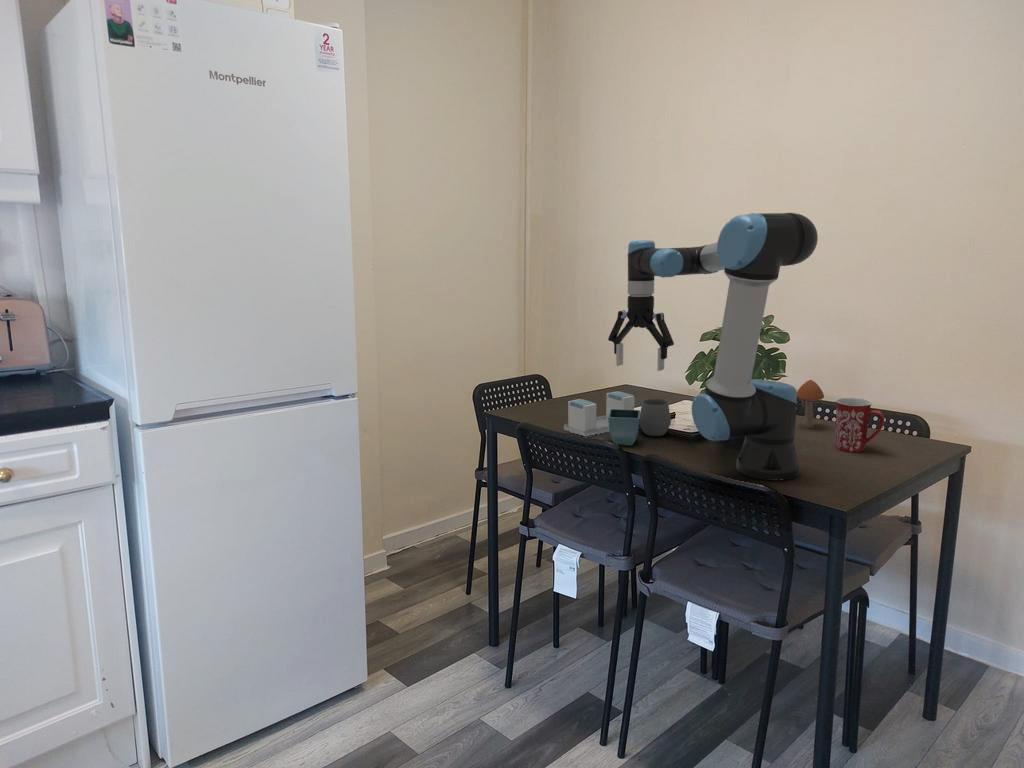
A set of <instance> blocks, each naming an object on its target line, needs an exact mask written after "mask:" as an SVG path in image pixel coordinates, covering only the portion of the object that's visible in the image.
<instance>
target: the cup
mask: <svg viewBox="0 0 1024 768" xmlns="http://www.w3.org/2000/svg"><path fill="white" fill-rule="evenodd" d="M671 424H672V420H671V413H670V404H669V401H668V400H666V399H662V398H646V399H643V400H642V403H641V407H640V419H639V426H640V428H641V431H642V432H643V433H644V434H645V435H647V436H649V437H660V436H661V437H662V436H665V434H667V432H668V430H669V428H670V426H671Z"/></svg>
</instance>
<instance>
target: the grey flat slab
mask: <svg viewBox="0 0 1024 768" xmlns="http://www.w3.org/2000/svg"><path fill="white" fill-rule="evenodd" d="M563 431H566V432H568V431H569V432H568V433H571V434H573V433H575V434H574V435H576V434H579V435H583V436H589V435H593V436H596V435H595V434H597V435H601V434H600V433H602V434H606V433H610V431H609V421H608V418H606V415H600V416H596V429H592V430H587V431H583V432H582V431H580V430H577V429H574V428H571V427H569V426H568V423H565V424H563ZM605 432H606V433H605ZM579 435H578V436H579ZM589 437H590V436H589Z"/></svg>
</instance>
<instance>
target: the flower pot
mask: <svg viewBox="0 0 1024 768" xmlns="http://www.w3.org/2000/svg"><path fill="white" fill-rule="evenodd" d="M640 412H641V409H634V410H622V409H610V412H609V416H608V421H609V431H610V432H609V436H610V438H611V441H612V443H614V442H615V443H618V444H628V445H627V446H633V445H634V443H635V441H636V440H637V437H638V433H639V426H640V424H639V419H640Z"/></svg>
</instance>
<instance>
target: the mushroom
mask: <svg viewBox="0 0 1024 768" xmlns="http://www.w3.org/2000/svg"><path fill="white" fill-rule="evenodd" d="M796 391H797V399H800V400H803V401H804V406H805V407H804V408H805V410H804V411H805V412H804V418H803V426H804V428H807V429H810V428H811V429H813V428H814V426H815V424H816V423H815V416H814V412H813V408H814V407H813V406H814V405H813V402H814V401H821V400H822V399H824V398H825V395H824V392H823V390H822V389H821V387H820V386H819V384H818V383H816V381H814V380H812V379H808V380H807V381H805V382H804V383H803V384H801V386H800V387H799V388H798V390H796Z"/></svg>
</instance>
